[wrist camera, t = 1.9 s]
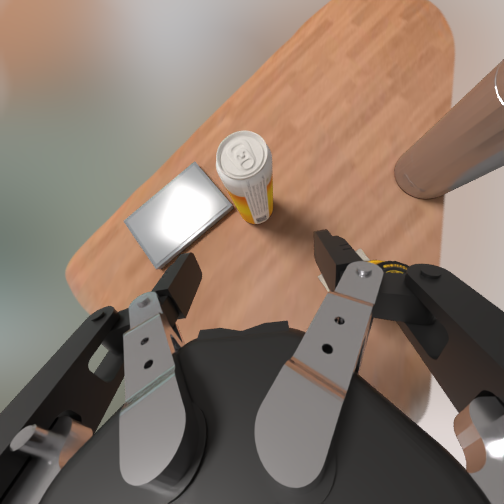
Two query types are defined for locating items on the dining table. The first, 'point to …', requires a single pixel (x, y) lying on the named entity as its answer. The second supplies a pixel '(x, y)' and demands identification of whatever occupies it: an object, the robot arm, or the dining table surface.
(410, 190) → the robot arm
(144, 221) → the grey flat slab
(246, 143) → the beer can
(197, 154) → the dining table surface
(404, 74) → the dining table surface
